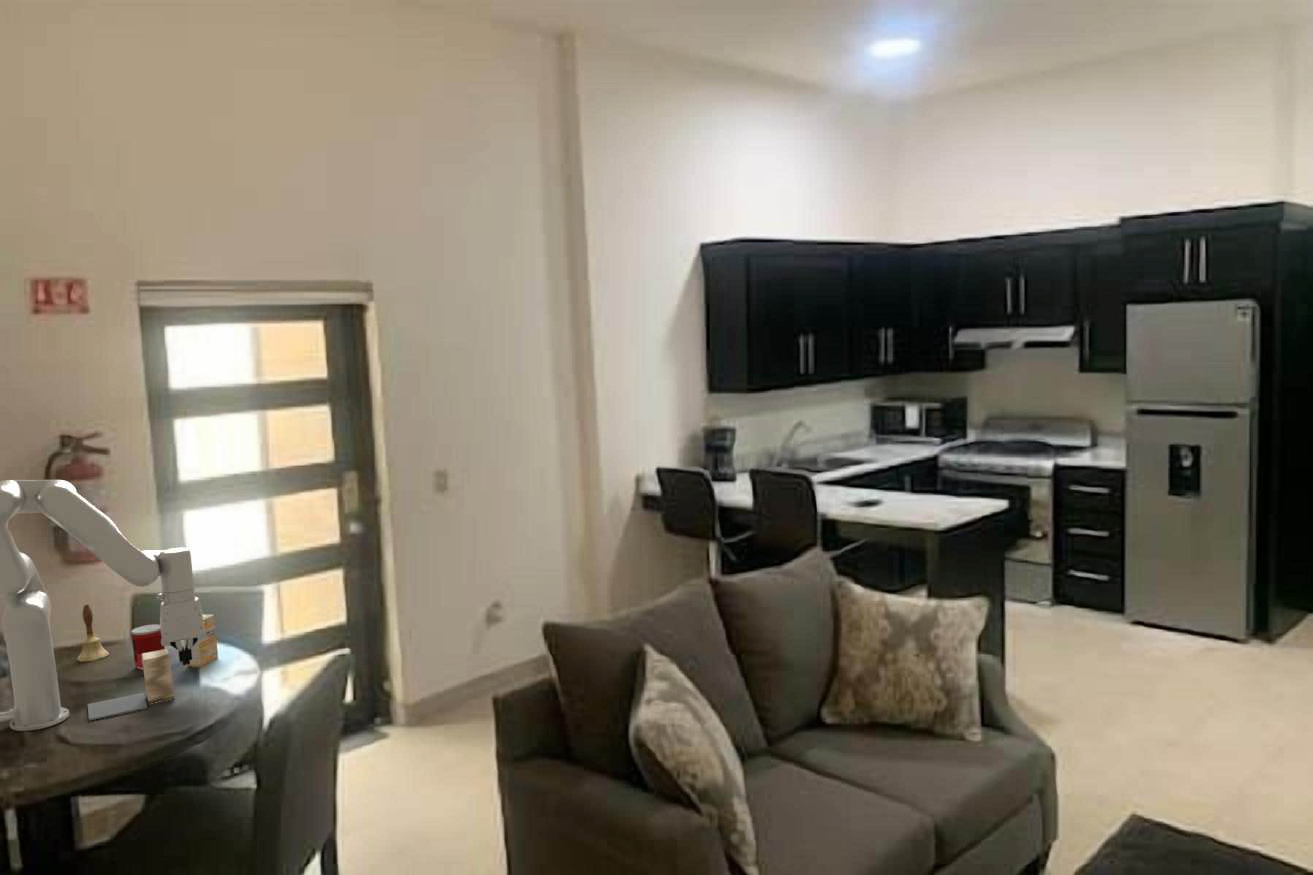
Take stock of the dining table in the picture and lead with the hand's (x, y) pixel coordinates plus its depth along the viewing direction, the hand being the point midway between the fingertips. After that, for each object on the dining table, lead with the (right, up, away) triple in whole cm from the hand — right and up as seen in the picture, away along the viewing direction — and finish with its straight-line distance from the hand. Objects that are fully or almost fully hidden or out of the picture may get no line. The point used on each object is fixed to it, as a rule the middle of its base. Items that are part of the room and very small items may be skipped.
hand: (186, 663), depth 268 cm
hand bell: (-43, -6, +34) cm, 56 cm away
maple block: (-6, -9, -2) cm, 11 cm away
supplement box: (-6, -5, +25) cm, 26 cm away
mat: (-14, -10, -7) cm, 19 cm away
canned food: (-21, -6, +24) cm, 33 cm away
